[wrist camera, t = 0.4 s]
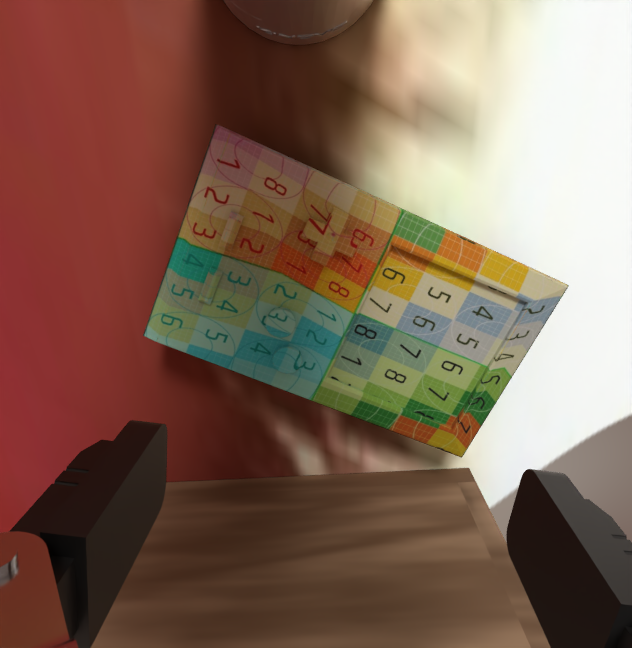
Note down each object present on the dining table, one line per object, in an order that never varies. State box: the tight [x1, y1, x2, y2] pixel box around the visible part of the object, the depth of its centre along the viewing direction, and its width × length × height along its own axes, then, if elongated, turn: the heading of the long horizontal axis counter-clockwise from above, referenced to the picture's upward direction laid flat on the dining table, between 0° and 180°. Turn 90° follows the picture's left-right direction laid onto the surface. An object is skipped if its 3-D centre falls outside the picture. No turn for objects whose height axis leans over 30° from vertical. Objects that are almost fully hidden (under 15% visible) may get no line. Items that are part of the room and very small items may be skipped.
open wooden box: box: [91, 468, 551, 648], centre depth 30 cm, size 13×26×14 cm, turn 93°
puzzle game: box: [143, 125, 568, 457], centre depth 28 cm, size 12×5×20 cm
